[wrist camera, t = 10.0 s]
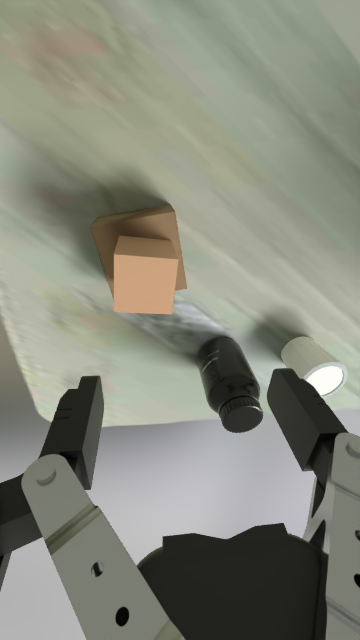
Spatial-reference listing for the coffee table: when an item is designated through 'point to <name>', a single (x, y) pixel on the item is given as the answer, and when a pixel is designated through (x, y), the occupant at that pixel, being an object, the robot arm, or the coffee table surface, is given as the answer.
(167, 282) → the tan block
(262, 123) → the coffee table surface
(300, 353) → the white cylinder
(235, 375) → the supplement bottle
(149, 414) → the coffee table surface
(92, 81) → the coffee table surface
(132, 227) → the walnut box
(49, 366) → the coffee table surface
